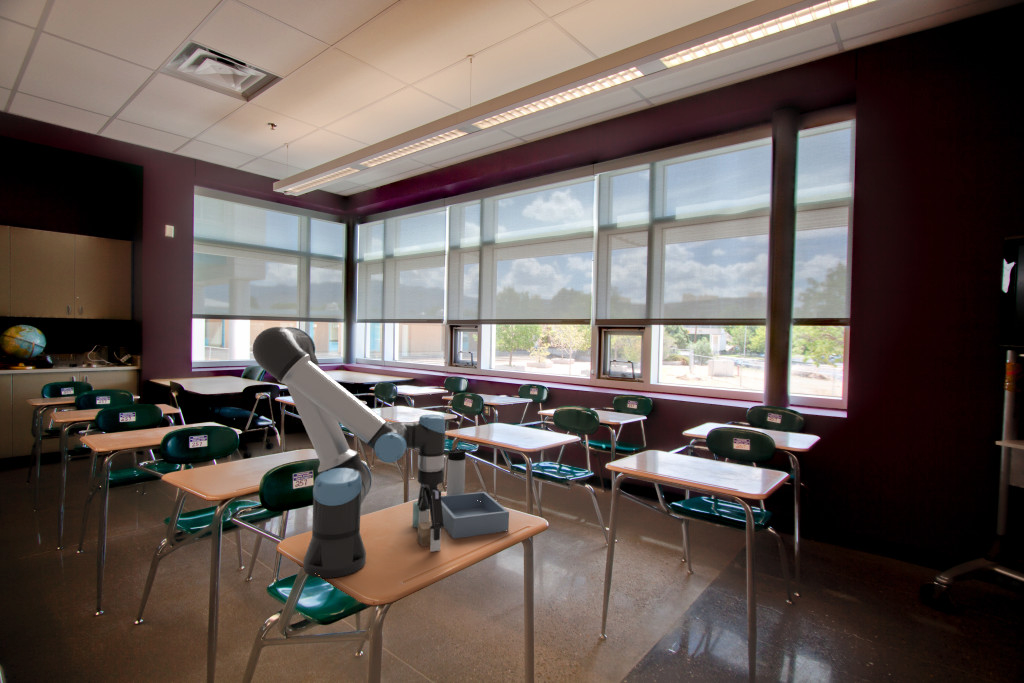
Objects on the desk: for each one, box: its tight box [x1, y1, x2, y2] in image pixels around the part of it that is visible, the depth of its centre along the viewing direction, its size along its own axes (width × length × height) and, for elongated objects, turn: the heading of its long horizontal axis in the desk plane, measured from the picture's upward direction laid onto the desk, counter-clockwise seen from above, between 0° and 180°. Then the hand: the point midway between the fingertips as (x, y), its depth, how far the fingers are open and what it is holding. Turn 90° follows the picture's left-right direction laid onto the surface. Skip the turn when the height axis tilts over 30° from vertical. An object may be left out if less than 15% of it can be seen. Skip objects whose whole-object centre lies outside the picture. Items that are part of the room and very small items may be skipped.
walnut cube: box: [416, 520, 432, 547], centre depth 143 cm, size 5×5×5 cm
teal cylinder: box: [412, 500, 430, 529], centre depth 155 cm, size 5×5×7 cm
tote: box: [441, 491, 510, 539], centre depth 159 cm, size 18×21×6 cm
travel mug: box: [446, 448, 468, 496], centre depth 174 cm, size 6×7×20 cm
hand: (429, 541), depth 143 cm, fingers open, 13 cm apart
